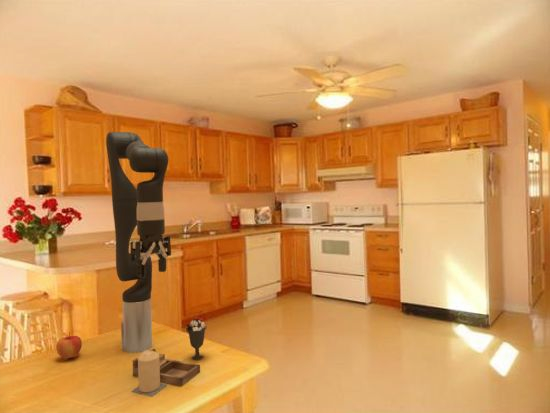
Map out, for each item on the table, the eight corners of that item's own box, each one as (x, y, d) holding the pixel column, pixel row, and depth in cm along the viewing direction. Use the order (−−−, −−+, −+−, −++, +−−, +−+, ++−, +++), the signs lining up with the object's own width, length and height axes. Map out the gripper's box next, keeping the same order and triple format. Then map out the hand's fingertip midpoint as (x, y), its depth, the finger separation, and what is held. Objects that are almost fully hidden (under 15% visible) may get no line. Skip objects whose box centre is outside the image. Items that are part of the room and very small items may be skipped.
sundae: (210, 354, 125) (209, 309, 125) (204, 363, 119) (203, 316, 118) (190, 354, 126) (189, 309, 125) (184, 363, 119) (182, 315, 119)
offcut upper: (143, 366, 111) (143, 360, 111) (153, 358, 116) (153, 353, 116) (155, 367, 110) (155, 361, 110) (164, 360, 115) (164, 354, 115)
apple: (55, 364, 120) (54, 339, 120) (58, 355, 127) (57, 332, 126) (81, 360, 123) (80, 335, 123) (82, 351, 130) (81, 328, 129)
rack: (133, 377, 111) (132, 360, 110) (154, 364, 119) (153, 348, 119) (181, 387, 104) (180, 369, 104) (200, 373, 112) (199, 356, 112)
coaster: (131, 393, 102) (131, 390, 102) (147, 382, 107) (147, 380, 107) (152, 397, 99) (152, 395, 99) (167, 387, 105) (167, 384, 105)
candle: (164, 384, 105) (163, 348, 105) (151, 394, 100) (150, 356, 99) (147, 381, 107) (146, 346, 106) (134, 391, 102) (133, 354, 101)
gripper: (156, 216, 116) (158, 269, 117) (121, 219, 103) (123, 279, 104) (177, 216, 113) (178, 270, 114) (143, 220, 100) (145, 281, 101)
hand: (152, 274), depth 109 cm, fingers open, 8 cm apart
